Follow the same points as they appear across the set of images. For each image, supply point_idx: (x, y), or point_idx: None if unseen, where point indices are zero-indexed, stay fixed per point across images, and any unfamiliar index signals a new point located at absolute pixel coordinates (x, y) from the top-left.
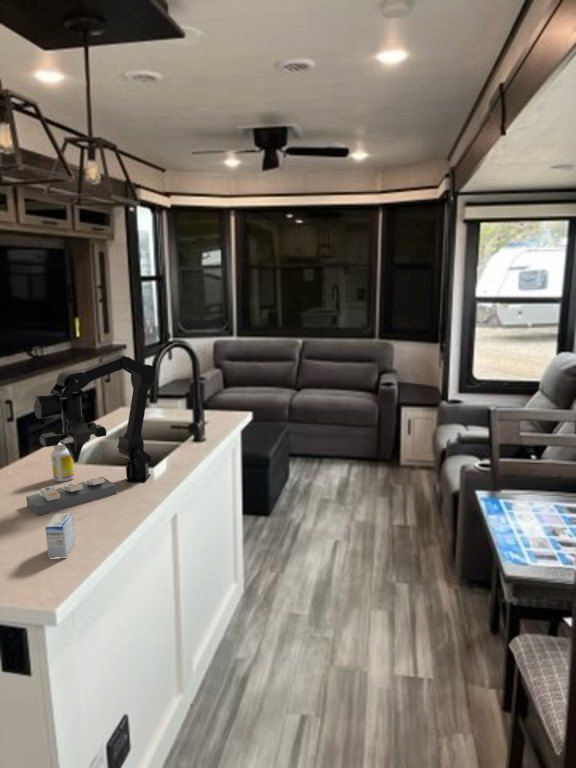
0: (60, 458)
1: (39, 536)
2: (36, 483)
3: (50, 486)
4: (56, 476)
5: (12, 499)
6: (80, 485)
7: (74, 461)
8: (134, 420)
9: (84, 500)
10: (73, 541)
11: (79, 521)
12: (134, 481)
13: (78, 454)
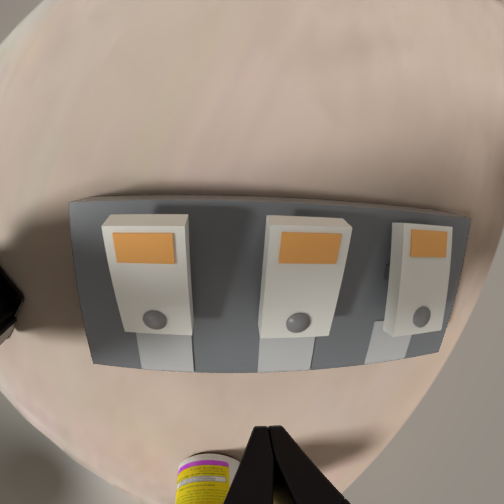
0: None
1: (476, 58)
2: None
3: (402, 334)
4: None
5: (404, 407)
6: (284, 225)
7: (283, 437)
8: None
9: (259, 197)
10: None
11: (360, 29)
12: (2, 271)
13: (252, 486)
